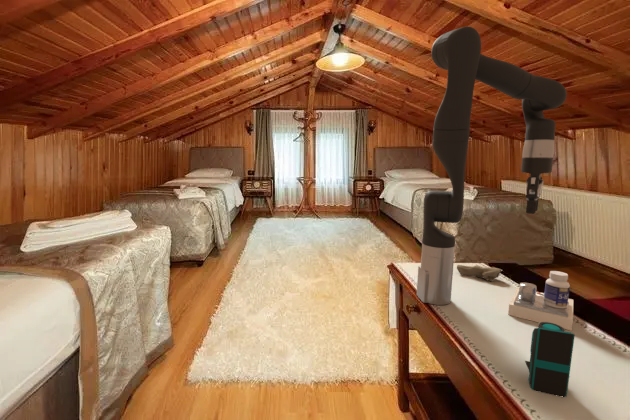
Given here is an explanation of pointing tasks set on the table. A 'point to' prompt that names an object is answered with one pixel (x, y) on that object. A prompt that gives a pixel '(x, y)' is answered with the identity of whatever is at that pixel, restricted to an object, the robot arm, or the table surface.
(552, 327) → the dark boxy piece
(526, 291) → the cylinder
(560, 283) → the pill bottle
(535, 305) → the scale pan
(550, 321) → the scale housing
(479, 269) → the sculpture
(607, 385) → the table surface
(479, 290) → the table surface
